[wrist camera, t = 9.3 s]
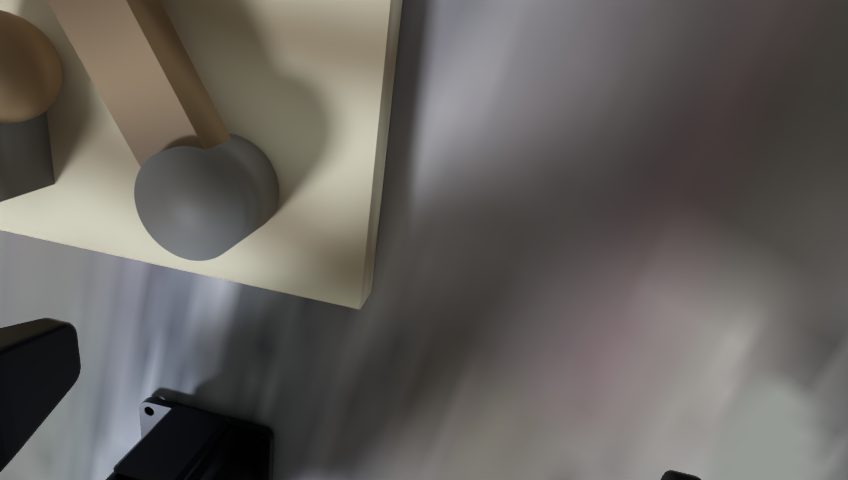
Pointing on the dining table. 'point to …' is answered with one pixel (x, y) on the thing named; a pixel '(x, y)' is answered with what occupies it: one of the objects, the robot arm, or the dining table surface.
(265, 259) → the nutcracker base
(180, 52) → the lever
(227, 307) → the dining table surface
